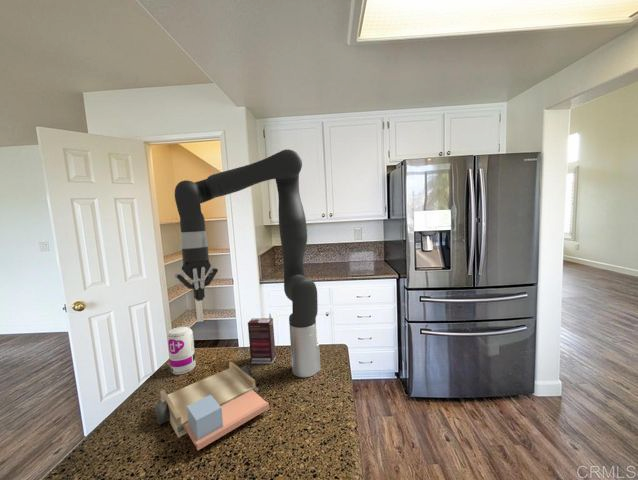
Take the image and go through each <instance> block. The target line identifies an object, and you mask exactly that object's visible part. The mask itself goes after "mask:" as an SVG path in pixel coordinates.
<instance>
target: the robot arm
mask: <svg viewBox="0 0 638 480" xmlns="http://www.w3.org/2000/svg"><path fill="white" fill-rule="evenodd" d="M302 168H303V159H302V158H301V156H300V154H298V152H297V151H295V150H294V149H288V148H287V149H283V150H280V151H279V152H277V153H275V154H272V155H270V156H268V157H266V158H263V159H260V160H258V161H256V162H253V163H249V164H247V165H243V166H239V167H235V168H232V169H228V170H224V171H221V172H217V173H214V174H210V175H209V176H207V178H206V179H205V178H204V179H202V180H199V181H195V182H194V181H192V180H187V179H186V180H181V181H180V182H178V183H177V184H176V185H175V188H174V202H175V204H176V205H175V206H176V209H177V212H178V215H179V225H180V246H181V258H182V266H181V270H180V271H179V272H178V273H175V275H174V278H175V279H177V281H179V282H180V283H181V284H183V286H185V287H186V288H187V289H189V290H193V291H192V293H193V299H194V300H196V301H197V302H200V301H203V300H204V298H205V288H206V287H208V286H209V285H210V284H211V283H212V282H213V279H214V278H215V276H216V275H217V274H218V271H219V269H218V268H216V267H213V266H211V265H212V264H211V263H210V260H209V259H210V256H209V242H208V237H207V233H206V220H205V216H204V214H203V212H202V208H201V206H202V205H201V204H202V203H206V202H209V201H211V200H214V199H215V198H219V197H220V198H221V197H224V196H226V195H230V194H234V193H236V192H240V191H243V190H245V189H247V188H250V187H252V186H254V185H257V184H260V183H263V182H266V181H270V180H275V185H276V188H277V195H278V197H277V198H278V207H277V208H278V227H279V228H278V229H279V237H280V245H281V246H280V247H281V253H282V261H283V289H284V294H285V296H286V298H287V299H288V300H289V301H291V303H292V313H290V315H289V317H288V323H289V341H290V352H291V353H290V355H291V370H292V374H293V375H294V376H295V377H298V378H310V377H312V376H315V375H316V374H317V373H319V372H321V354H320V352H321V351H320V344H319V342H318V337H317V335H318V332H317V317H318V305H319V304H318V303H319V302H318V289H317V286H316V283H315V282H314V281H313V280H312V279H310V278H307V277H306V273H305V267H304V256H305V251H306V247H307V245H308V227H307V220H306V219H307V218H306V214H305V210H304V206H303V202H302V200H301V194H300V179H299V177H300V173H301V170H302ZM186 276H187V277H188V278H189V279H190V282H189V281H188V280H187V279H186Z"/></svg>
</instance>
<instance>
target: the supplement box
mask: <svg viewBox="0 0 638 480" xmlns="http://www.w3.org/2000/svg"><path fill="white" fill-rule="evenodd" d="M247 327H248V328H247V330H248V340H249V341H248V342H249V350H250V351H249V352H250V353H249V354H250V364H270V365H271V364H273V363H274V362H275V360H276V358H277V357H276V355H277V354H276V342H275V329H274V318H272V317H269V318H268V317H267V318H254V317H252V318H251V319H250V320H249V321H248V322H247Z"/></svg>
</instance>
